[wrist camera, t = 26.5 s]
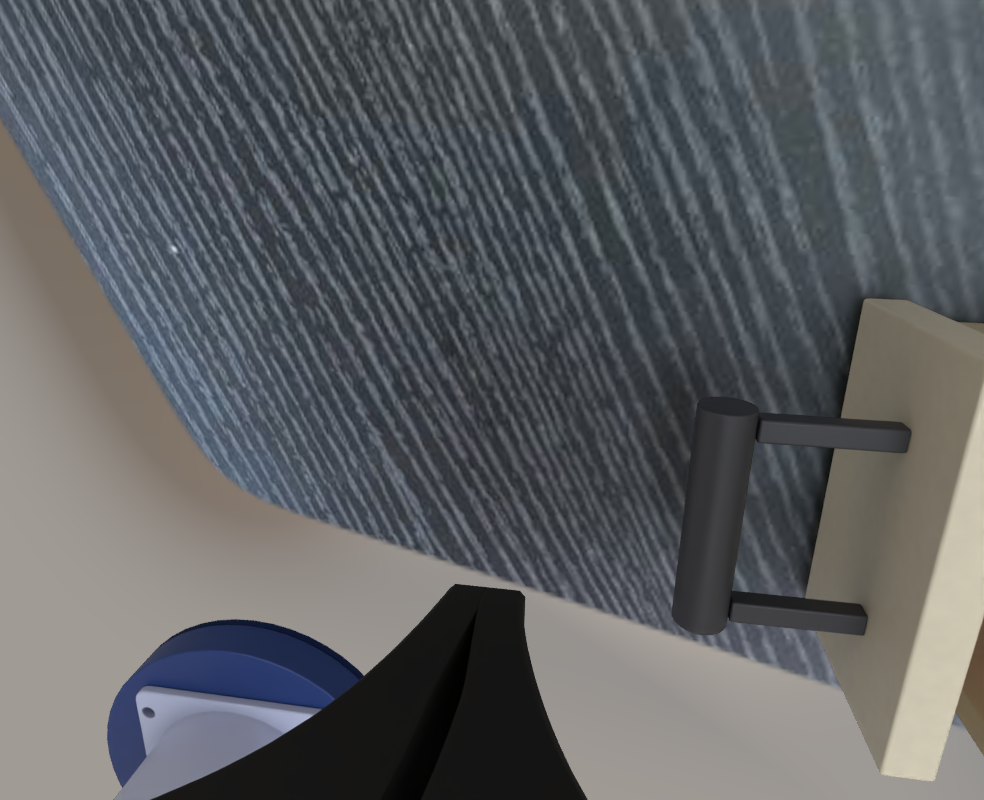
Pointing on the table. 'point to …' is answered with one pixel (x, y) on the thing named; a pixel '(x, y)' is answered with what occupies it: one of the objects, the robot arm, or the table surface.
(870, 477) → the drawer
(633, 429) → the table surface
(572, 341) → the table surface
